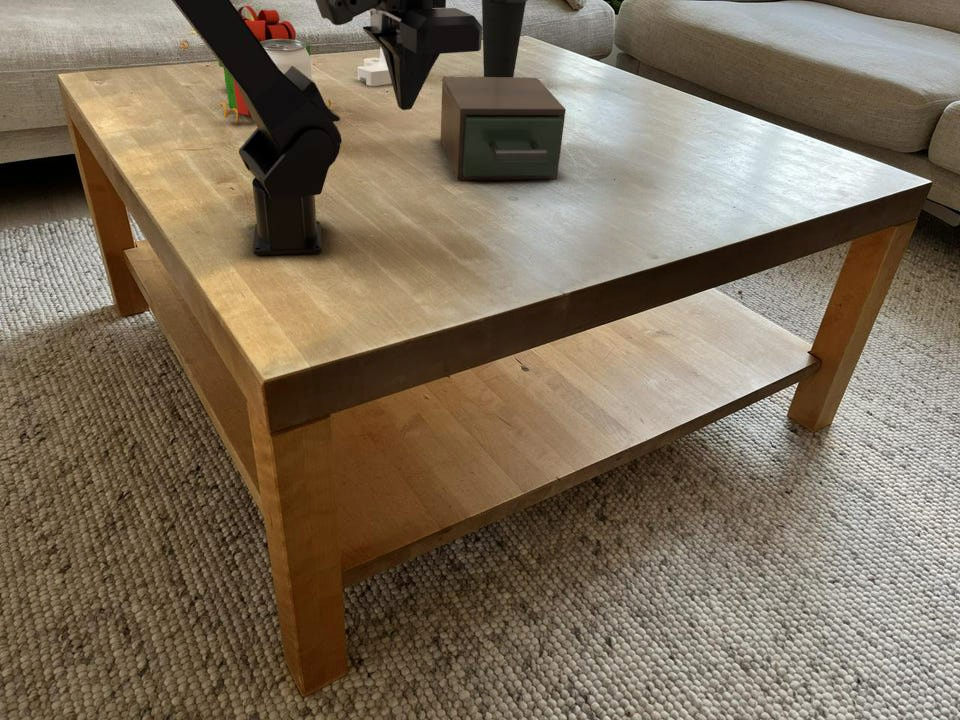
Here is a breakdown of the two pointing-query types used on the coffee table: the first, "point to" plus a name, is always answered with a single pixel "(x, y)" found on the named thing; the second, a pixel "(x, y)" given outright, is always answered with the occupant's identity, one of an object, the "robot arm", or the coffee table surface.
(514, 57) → the drinking cup
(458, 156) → the cabinet
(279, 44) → the can
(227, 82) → the gift wrap
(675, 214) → the coffee table surface
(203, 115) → the coffee table surface
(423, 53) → the robot arm
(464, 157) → the drawer
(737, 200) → the coffee table surface
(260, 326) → the coffee table surface
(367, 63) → the white post stand
